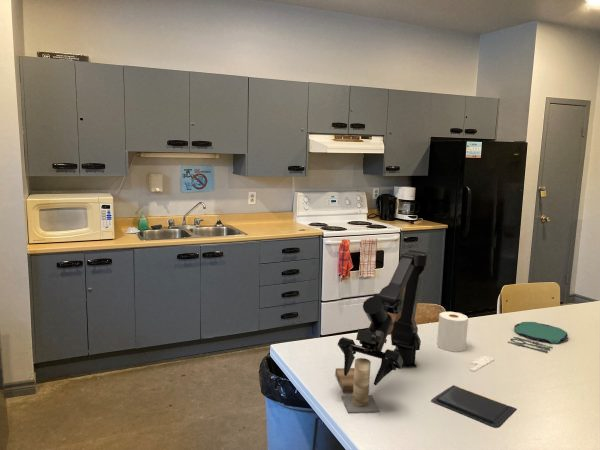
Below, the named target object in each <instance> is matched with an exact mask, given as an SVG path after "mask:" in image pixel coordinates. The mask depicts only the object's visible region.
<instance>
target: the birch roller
mask: <svg viewBox="0 0 600 450" xmlns="http://www.w3.org/2000/svg"><path fill="white" fill-rule="evenodd" d="M371 363H372V361H371V360H370V359H367V358H364V357H359V358H356V359H354V368H355V369H354V387H353V392H352V395H353V404H354V405H355V406H358V407H365V406H367V405H368V398H369V395H370V394H369V393H370V380H371Z"/></svg>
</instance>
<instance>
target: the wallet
mask: <svg viewBox="0 0 600 450" xmlns="http://www.w3.org/2000/svg"><path fill="white" fill-rule="evenodd" d="M430 402H431V403H433V404H434V405H438V406H440V407H443V408H445V409H447V410H450V411H453V412H455V413H457V414H459V415H462V416H465V417H466V418H468V419H472V420H474V421H477V422H478V423H481V424H484V425H485V426H488V427H491V428H494V429H498V428H499V429H500V427H502V425H504V424H505V422H506V421H507V420H508V419H509V418H510V417H511V416H512V415H513V414H514V413H515V412H516V411H517V410H518V408H516V407H514V406H510V405H509V404H506V403H504V402H501V401H498V400H496V399H493V398H489V397H487V396H485V395H483V394H479V393H476V392H474V391H471V390H468V389H466V388H463V387H460V386H456V385H452V386H449V387H448V388H446V389H444V390H443V391H442V392H440V393H438V394H437V395H436V396H435V397H433V398H432V399H431V400H430Z"/></svg>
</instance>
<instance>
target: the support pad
mask: <svg viewBox="0 0 600 450" xmlns="http://www.w3.org/2000/svg"><path fill="white" fill-rule="evenodd" d="M341 399H342V402H343V404H344V407H345V409H346V411H347V414H365V413H367V414H368V413H380V412H381V410H380V407H379V406H378V404H377V403H376V401H375V399H374V397H373V395H372V394H369V398H368V405H367V406H365V407H358V406H355V405H354V404H353V394H352V395H341Z"/></svg>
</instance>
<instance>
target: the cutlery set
mask: <svg viewBox="0 0 600 450" xmlns="http://www.w3.org/2000/svg"><path fill="white" fill-rule="evenodd" d="M513 332H515V333H516V334H517V335H521V336H524V337H526V338H529V339H533V341H532V340H529V339H525V338H521V337H517V336H513V338H510V340H511V341H509V340H508V341H507V343H508V344H511V345H514V346H517V347H524V348H527V349H530V350H533V351H537V352H540V353H541V352H542V353H545V354H548V351H550V350H551V349H553V346H550V345H546V344H543V343H540V342H538V341H541V342H543V341H544V342H550V343H551V344H552V345H556V344H559V342H561V341H564V340H567V339H568V337H569V335H568V332H567V331H566V330H564V329H563V328H560V327H556V326H553V325H550V324H545V323H539V322H537V321H522V322H521V321H520V323H517V324H515V325H514V328H513ZM535 340H538V341H535ZM528 345H529V346H528ZM532 346H533V347H532ZM535 347H538V348H535Z"/></svg>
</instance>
